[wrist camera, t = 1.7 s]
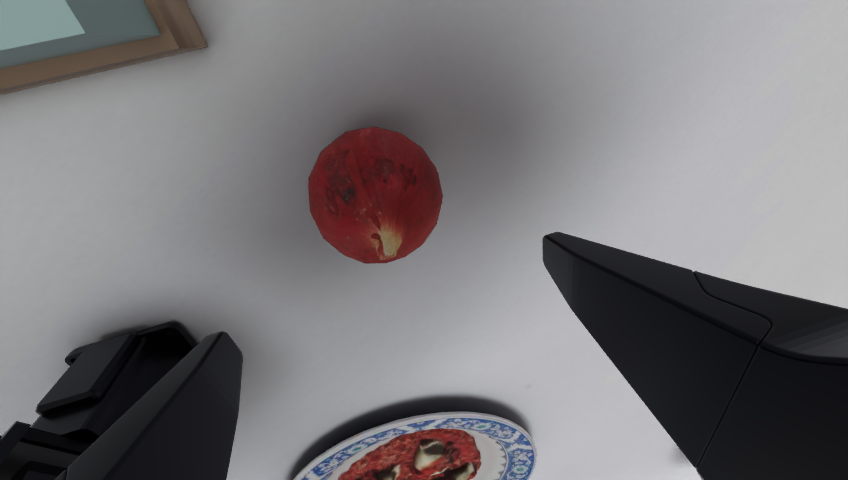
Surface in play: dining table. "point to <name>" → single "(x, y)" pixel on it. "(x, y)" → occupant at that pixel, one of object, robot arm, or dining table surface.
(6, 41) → the top block
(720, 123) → the dining table surface
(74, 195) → the dining table surface
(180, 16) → the bottom block
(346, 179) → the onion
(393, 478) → the ceramic plate
